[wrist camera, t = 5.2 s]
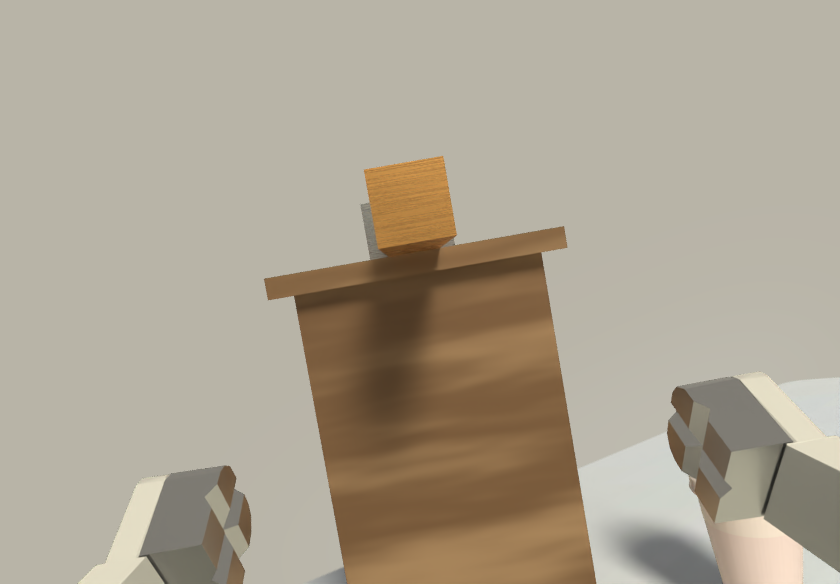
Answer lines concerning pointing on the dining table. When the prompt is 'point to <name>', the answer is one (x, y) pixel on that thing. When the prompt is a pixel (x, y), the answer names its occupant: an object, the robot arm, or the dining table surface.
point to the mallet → (408, 208)
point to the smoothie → (753, 551)
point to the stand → (445, 415)
